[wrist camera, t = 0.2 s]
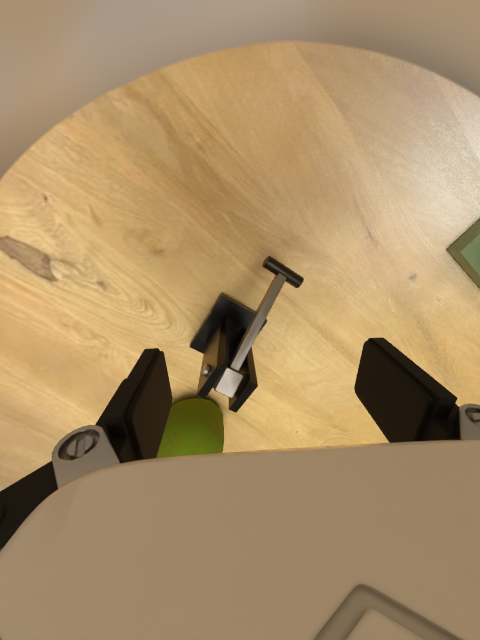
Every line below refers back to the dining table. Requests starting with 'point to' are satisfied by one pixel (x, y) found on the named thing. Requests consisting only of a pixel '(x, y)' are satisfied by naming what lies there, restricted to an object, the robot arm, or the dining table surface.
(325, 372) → the dining table surface
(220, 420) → the apple
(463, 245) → the button block
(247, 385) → the switch bracket
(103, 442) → the robot arm
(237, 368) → the lever
